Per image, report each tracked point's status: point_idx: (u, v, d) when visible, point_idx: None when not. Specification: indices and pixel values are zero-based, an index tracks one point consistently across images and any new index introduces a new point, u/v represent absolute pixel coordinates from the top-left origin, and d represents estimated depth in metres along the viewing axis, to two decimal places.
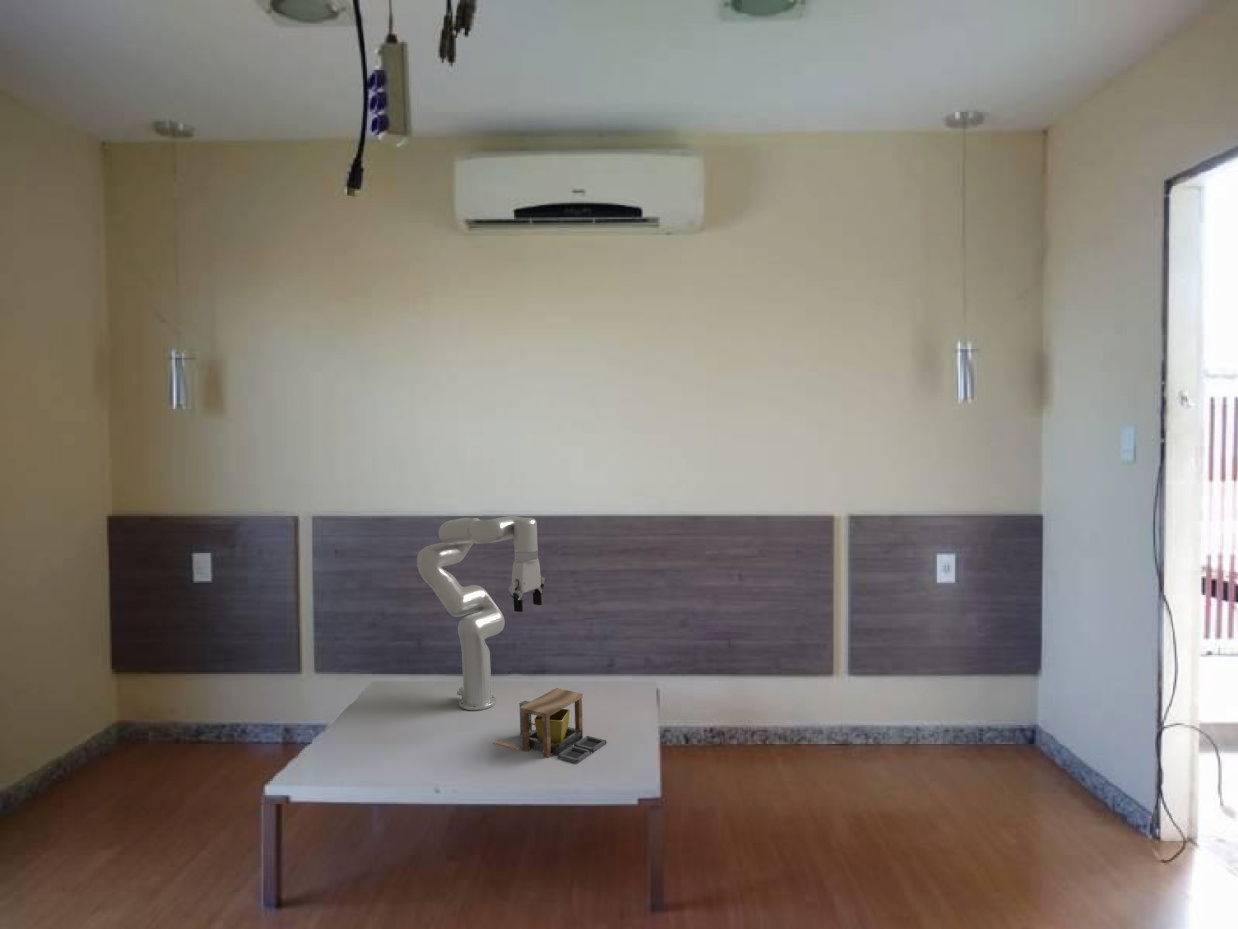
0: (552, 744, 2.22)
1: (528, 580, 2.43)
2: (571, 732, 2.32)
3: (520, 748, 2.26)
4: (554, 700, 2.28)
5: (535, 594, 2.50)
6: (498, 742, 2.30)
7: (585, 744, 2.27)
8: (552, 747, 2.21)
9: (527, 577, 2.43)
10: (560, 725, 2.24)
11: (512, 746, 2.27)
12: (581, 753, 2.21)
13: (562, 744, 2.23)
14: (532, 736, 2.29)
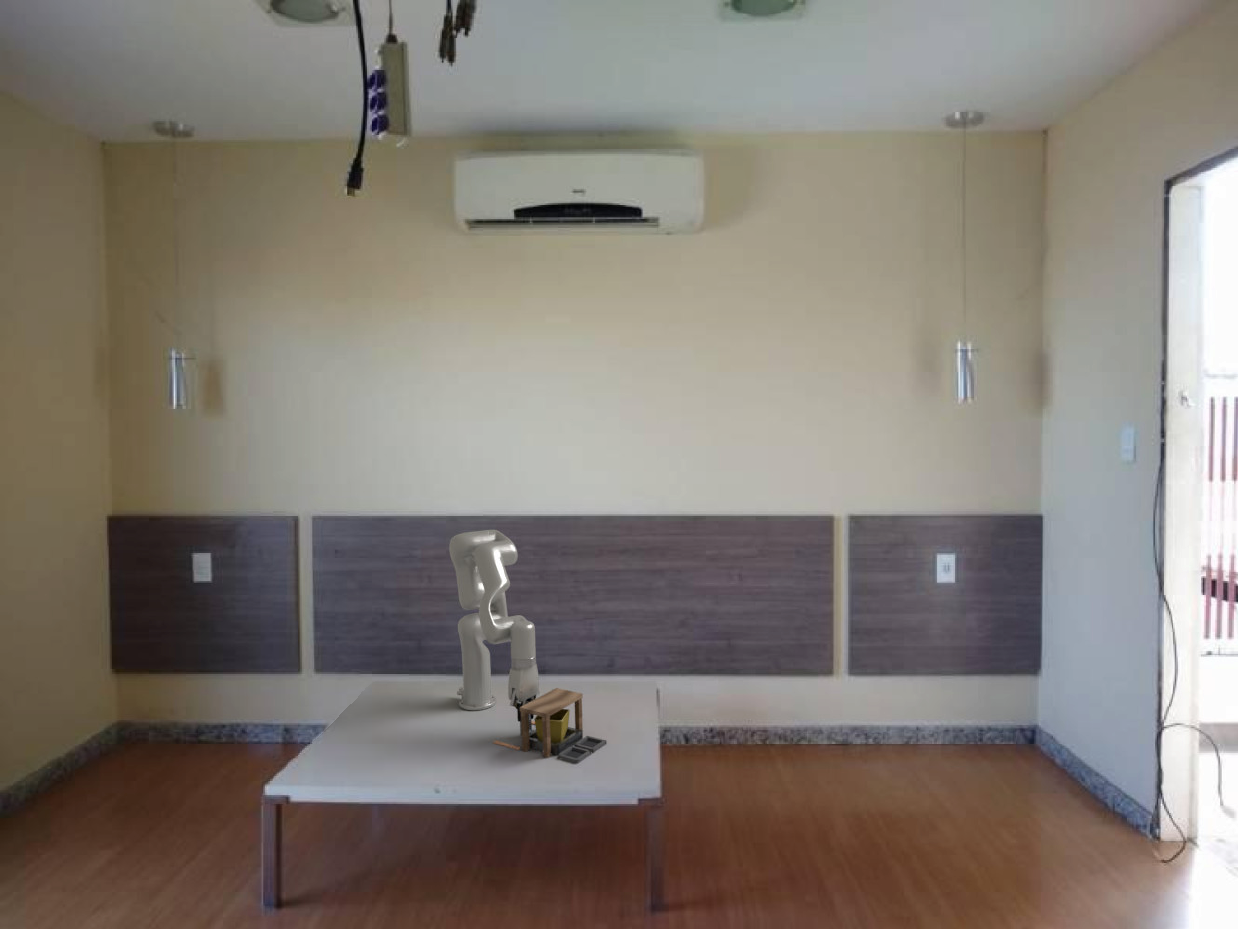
0: (552, 744, 2.22)
1: (525, 688, 2.31)
2: (571, 732, 2.32)
3: (520, 748, 2.26)
4: (554, 700, 2.28)
5: None
6: (498, 742, 2.30)
7: (585, 744, 2.27)
8: (552, 747, 2.21)
9: (524, 685, 2.31)
10: (560, 725, 2.24)
11: (512, 746, 2.27)
12: (581, 753, 2.21)
13: (562, 744, 2.23)
14: (532, 736, 2.29)
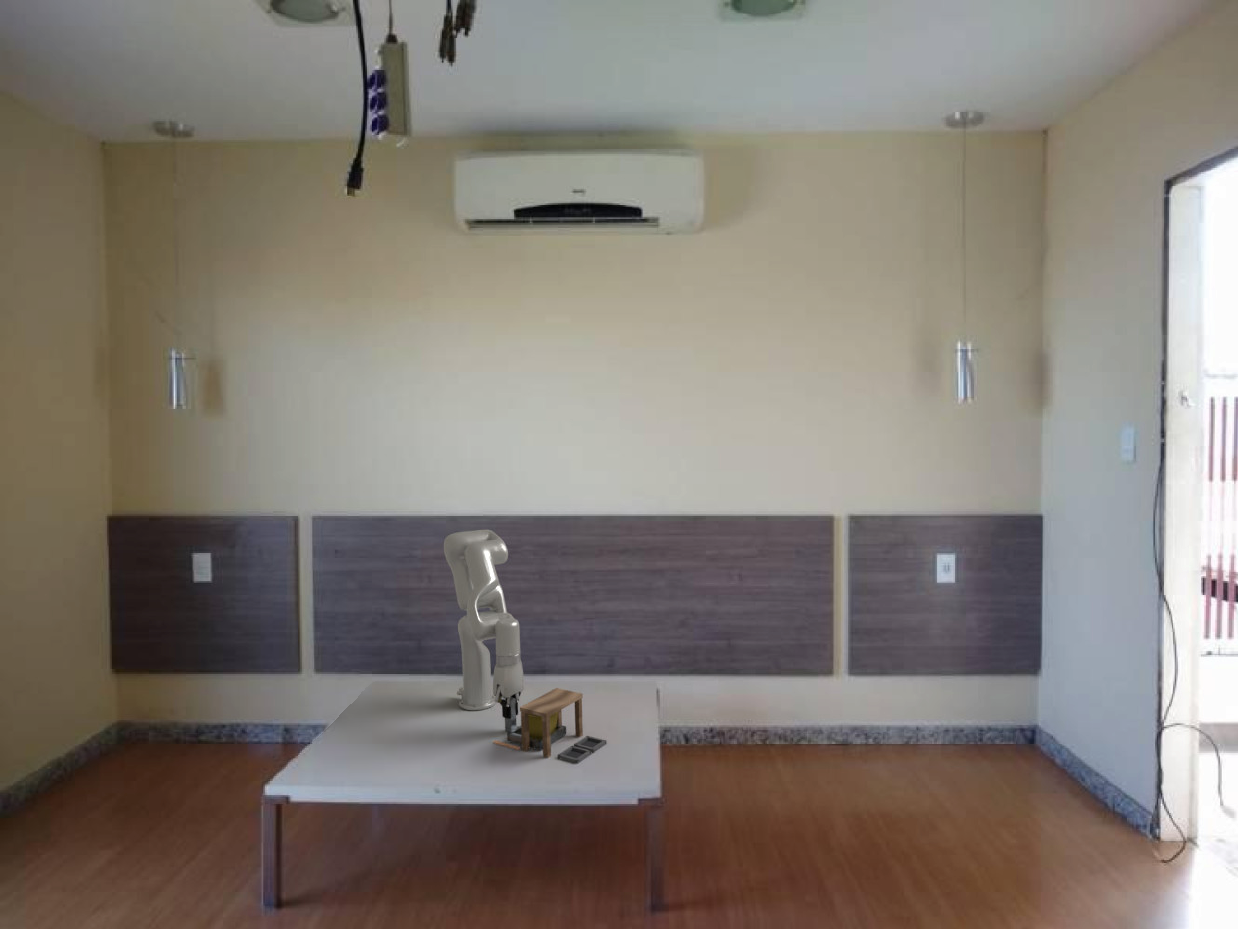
0: (535, 740, 2.25)
1: (510, 685, 2.34)
2: (555, 728, 2.35)
3: (520, 748, 2.26)
4: (554, 700, 2.28)
5: None
6: (498, 742, 2.30)
7: (585, 744, 2.27)
8: (535, 742, 2.25)
9: (509, 682, 2.34)
10: None
11: (512, 746, 2.27)
12: (581, 753, 2.21)
13: None
14: (516, 732, 2.33)
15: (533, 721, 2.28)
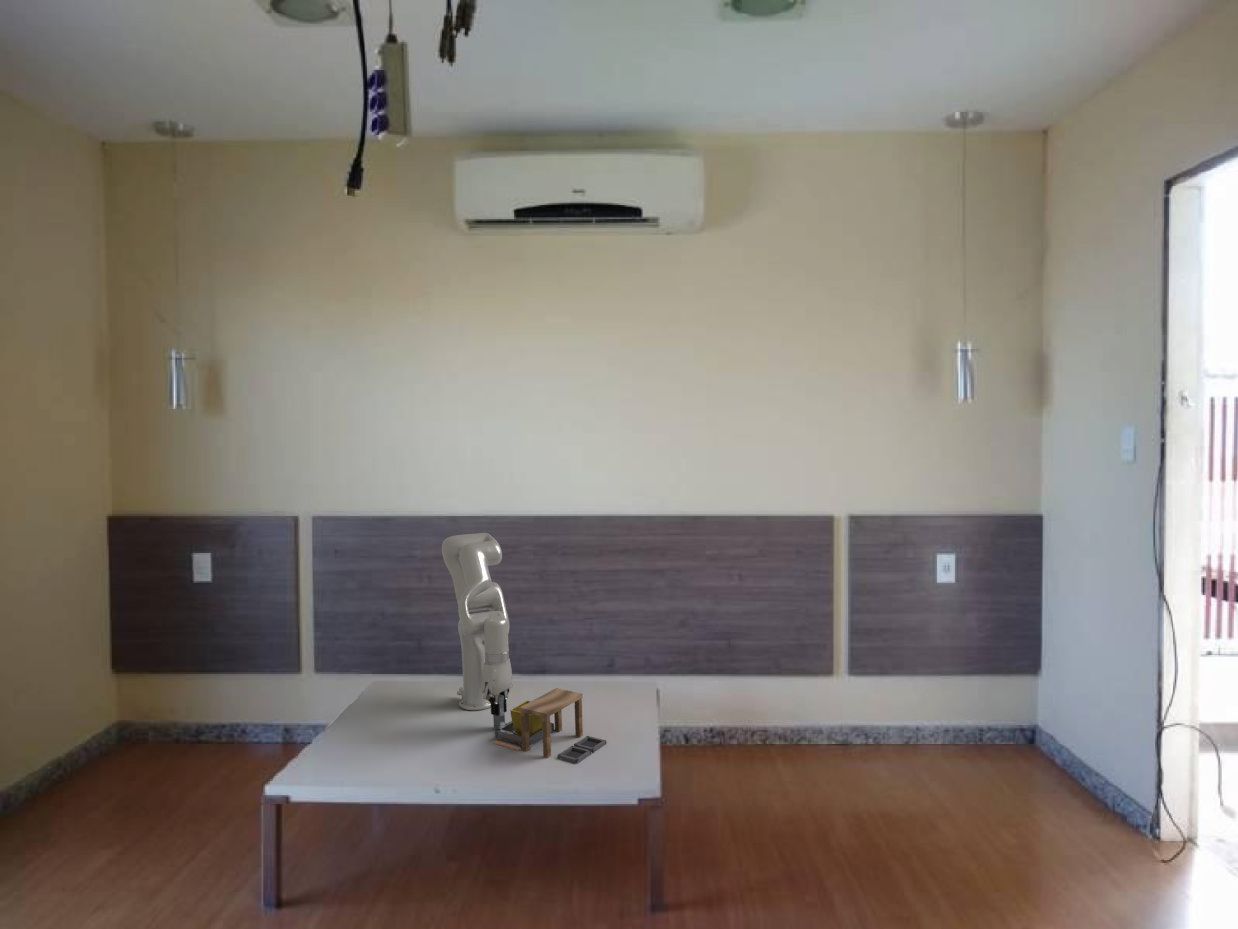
0: None
1: (498, 682, 2.37)
2: None
3: (520, 748, 2.26)
4: (554, 700, 2.28)
5: None
6: (498, 742, 2.30)
7: (585, 744, 2.27)
8: None
9: (497, 679, 2.36)
10: (531, 719, 2.29)
11: (512, 746, 2.27)
12: (581, 753, 2.21)
13: (533, 736, 2.29)
14: (504, 729, 2.35)
15: None
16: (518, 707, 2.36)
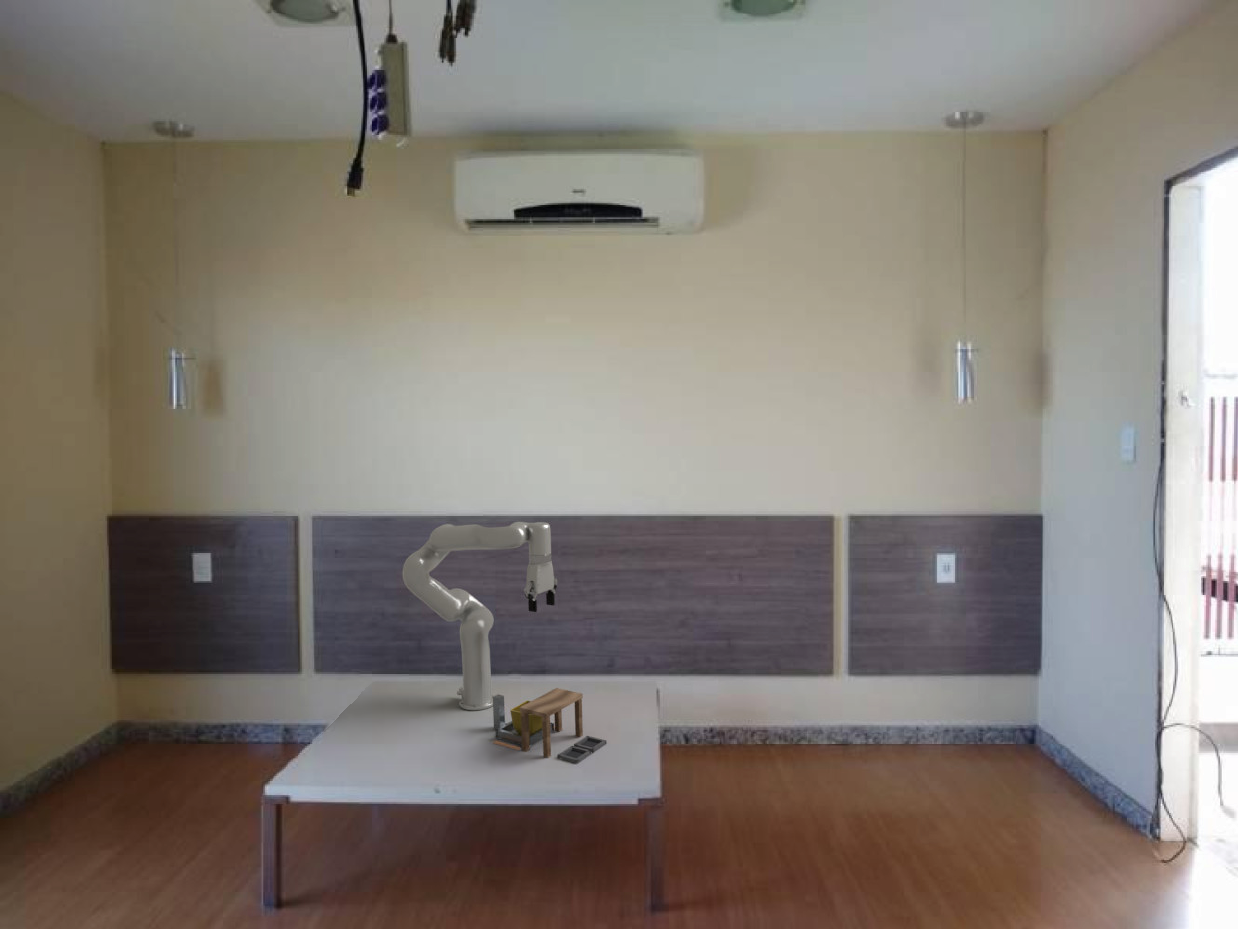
0: None
1: (542, 582, 2.56)
2: None
3: (520, 748, 2.26)
4: (554, 700, 2.28)
5: (548, 595, 2.63)
6: (498, 742, 2.30)
7: (585, 744, 2.27)
8: None
9: (541, 579, 2.55)
10: (531, 719, 2.29)
11: (512, 746, 2.27)
12: (581, 753, 2.21)
13: (533, 736, 2.29)
14: (504, 729, 2.35)
15: None
16: (518, 707, 2.36)
